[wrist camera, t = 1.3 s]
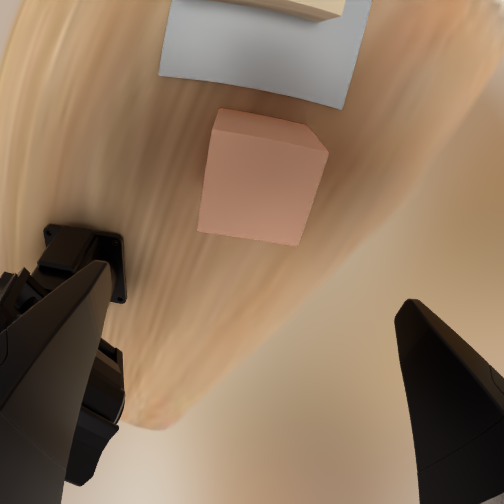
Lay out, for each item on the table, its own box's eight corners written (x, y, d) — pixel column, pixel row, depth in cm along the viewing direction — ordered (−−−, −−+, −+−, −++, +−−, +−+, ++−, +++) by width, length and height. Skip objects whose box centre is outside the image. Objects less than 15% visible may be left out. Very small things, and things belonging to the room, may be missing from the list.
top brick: (285, 200, 20) (298, 246, 16) (206, 186, 19) (196, 231, 15) (306, 124, 17) (329, 152, 13) (219, 107, 16) (212, 129, 12)
